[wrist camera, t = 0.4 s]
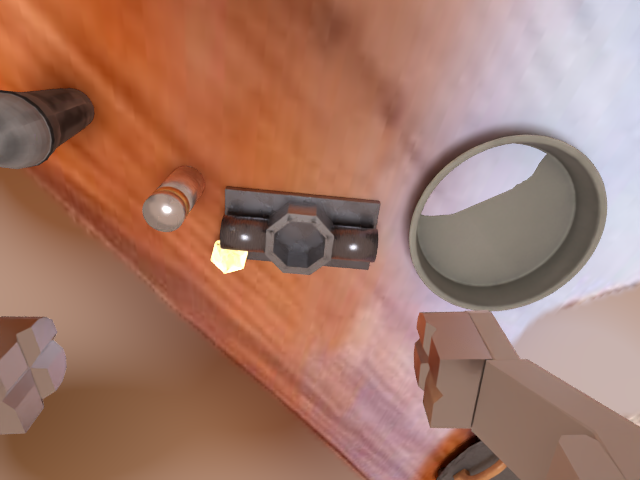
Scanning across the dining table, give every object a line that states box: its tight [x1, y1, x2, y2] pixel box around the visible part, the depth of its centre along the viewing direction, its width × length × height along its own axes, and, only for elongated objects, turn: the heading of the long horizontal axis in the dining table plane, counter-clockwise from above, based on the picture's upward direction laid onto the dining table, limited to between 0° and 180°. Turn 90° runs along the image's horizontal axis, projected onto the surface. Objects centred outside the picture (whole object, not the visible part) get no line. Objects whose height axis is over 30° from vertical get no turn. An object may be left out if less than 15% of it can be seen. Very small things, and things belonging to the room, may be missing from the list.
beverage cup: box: [0, 88, 94, 169], centre depth 42 cm, size 7×7×20 cm
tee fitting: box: [220, 186, 380, 275], centre depth 56 cm, size 10×20×5 cm, turn 84°
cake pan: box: [409, 135, 607, 311], centre depth 57 cm, size 25×25×4 cm
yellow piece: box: [211, 239, 249, 273], centre depth 58 cm, size 4×5×2 cm
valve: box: [142, 166, 205, 232], centre depth 51 cm, size 4×4×10 cm
